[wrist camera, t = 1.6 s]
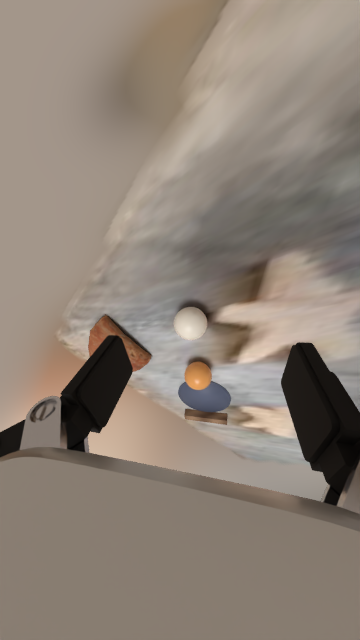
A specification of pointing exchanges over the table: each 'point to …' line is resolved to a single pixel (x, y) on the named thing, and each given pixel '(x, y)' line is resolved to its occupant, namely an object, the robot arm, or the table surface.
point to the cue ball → (190, 323)
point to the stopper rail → (206, 416)
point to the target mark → (205, 397)
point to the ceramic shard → (133, 350)
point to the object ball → (198, 375)
